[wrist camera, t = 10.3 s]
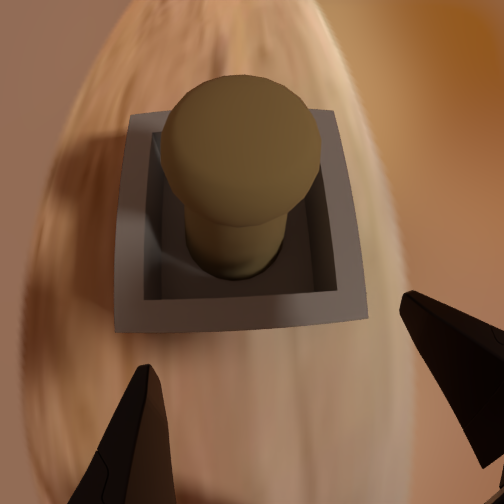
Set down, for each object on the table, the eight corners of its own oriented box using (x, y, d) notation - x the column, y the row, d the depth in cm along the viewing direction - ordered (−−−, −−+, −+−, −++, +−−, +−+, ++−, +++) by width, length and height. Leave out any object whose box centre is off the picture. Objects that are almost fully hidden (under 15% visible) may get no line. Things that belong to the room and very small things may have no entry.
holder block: (334, 320, 19) (368, 318, 14) (143, 330, 18) (114, 332, 13) (313, 152, 21) (333, 110, 17) (148, 156, 20) (130, 114, 16)
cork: (181, 279, 18) (116, 213, 7) (188, 184, 19) (157, 51, 8) (284, 282, 18) (361, 222, 7) (283, 188, 19) (333, 60, 9)
